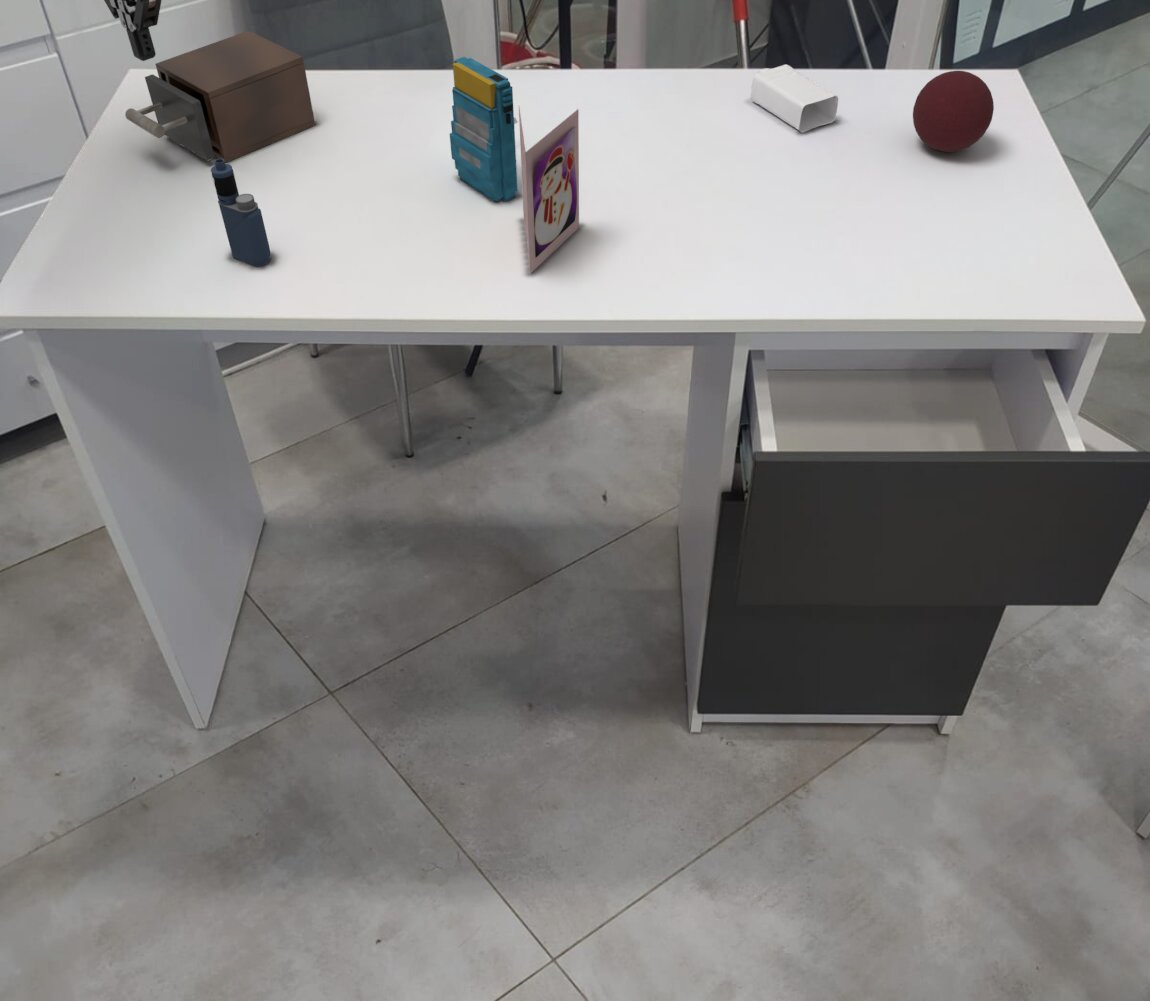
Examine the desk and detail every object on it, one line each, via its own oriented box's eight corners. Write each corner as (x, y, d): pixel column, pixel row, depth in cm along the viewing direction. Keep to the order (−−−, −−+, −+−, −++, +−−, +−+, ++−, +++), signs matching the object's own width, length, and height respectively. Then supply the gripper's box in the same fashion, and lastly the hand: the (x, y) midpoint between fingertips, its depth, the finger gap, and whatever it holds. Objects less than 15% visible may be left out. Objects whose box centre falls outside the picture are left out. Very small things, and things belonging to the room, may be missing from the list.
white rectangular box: (778, 87, 161) (781, 58, 158) (835, 122, 154) (840, 92, 151) (742, 97, 159) (744, 68, 156) (798, 134, 151) (802, 104, 148)
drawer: (173, 175, 143) (157, 117, 137) (127, 145, 149) (109, 89, 143) (292, 125, 152) (280, 69, 147) (244, 100, 158) (232, 45, 152)
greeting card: (537, 275, 128) (532, 154, 117) (482, 258, 130) (473, 138, 120) (585, 228, 135) (585, 110, 124) (532, 213, 137) (528, 96, 127)
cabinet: (225, 163, 147) (208, 92, 140) (174, 132, 153) (154, 63, 146) (315, 125, 154) (302, 56, 147) (262, 97, 160) (248, 30, 154)
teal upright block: (521, 196, 140) (516, 80, 130) (495, 207, 138) (487, 91, 128) (476, 167, 145) (467, 53, 135) (450, 177, 144) (439, 63, 133)
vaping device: (242, 246, 132) (219, 153, 124) (276, 258, 131) (254, 164, 122) (227, 256, 131) (202, 163, 122) (261, 269, 129) (238, 174, 120)
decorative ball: (994, 143, 149) (1014, 70, 142) (964, 173, 143) (984, 99, 136) (924, 123, 153) (941, 51, 146) (893, 151, 148) (908, 78, 141)
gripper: (43, -98, 128) (91, 51, 140) (102, -72, 121) (147, 83, 133) (103, -114, 131) (144, 33, 144) (162, -89, 125) (201, 63, 137)
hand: (145, 57), depth 138 cm, fingers closed
